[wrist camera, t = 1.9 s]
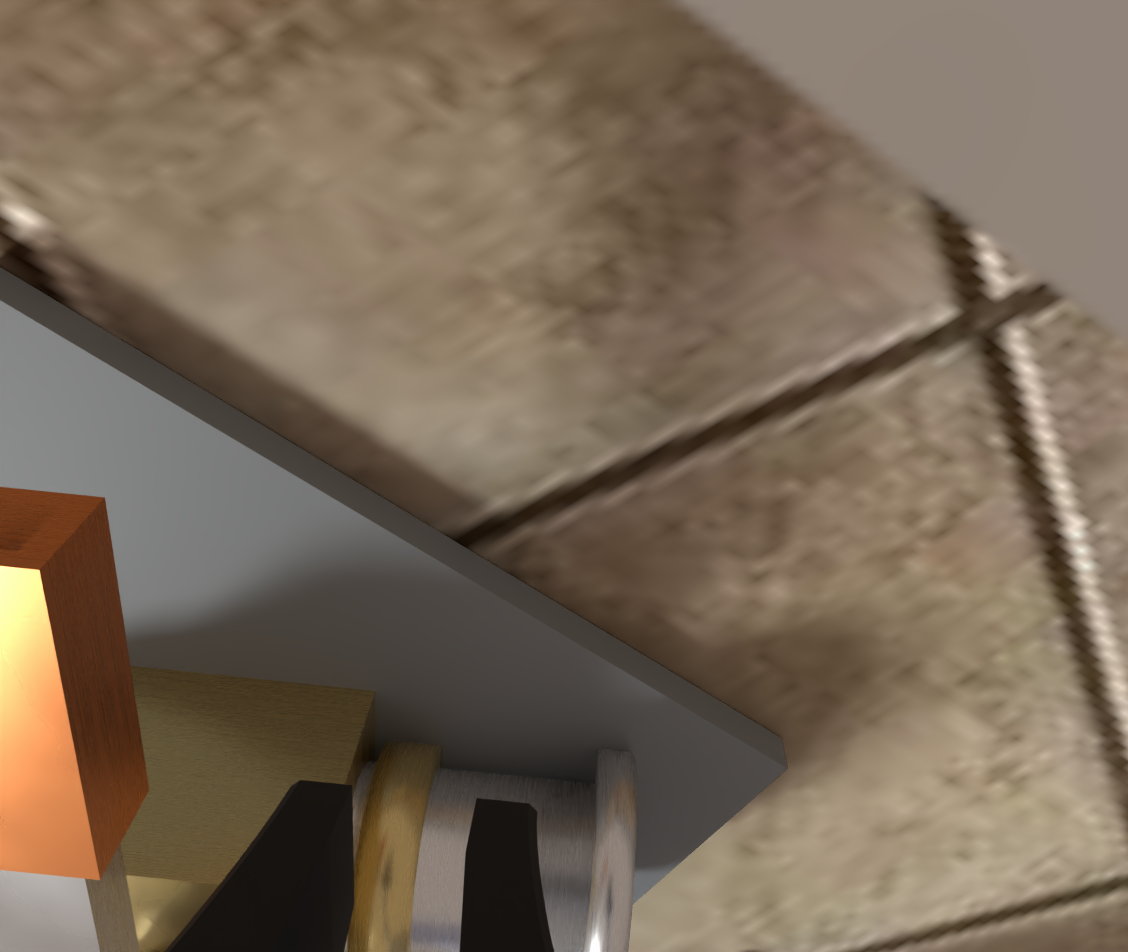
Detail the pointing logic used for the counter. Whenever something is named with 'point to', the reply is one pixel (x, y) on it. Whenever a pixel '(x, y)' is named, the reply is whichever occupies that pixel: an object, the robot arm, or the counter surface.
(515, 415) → the counter surface
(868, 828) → the counter surface
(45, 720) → the lever
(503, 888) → the robot arm
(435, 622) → the mounting board
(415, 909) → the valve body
